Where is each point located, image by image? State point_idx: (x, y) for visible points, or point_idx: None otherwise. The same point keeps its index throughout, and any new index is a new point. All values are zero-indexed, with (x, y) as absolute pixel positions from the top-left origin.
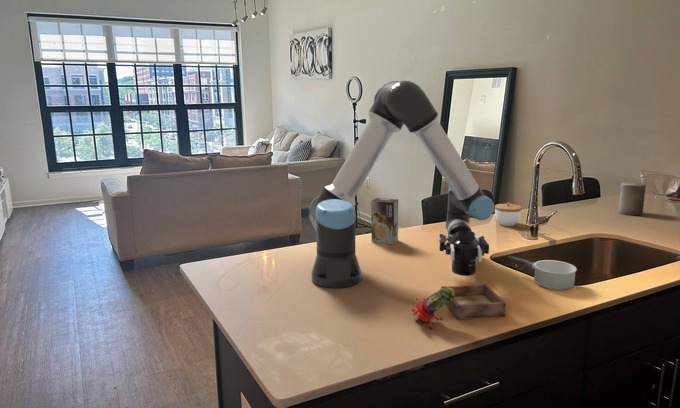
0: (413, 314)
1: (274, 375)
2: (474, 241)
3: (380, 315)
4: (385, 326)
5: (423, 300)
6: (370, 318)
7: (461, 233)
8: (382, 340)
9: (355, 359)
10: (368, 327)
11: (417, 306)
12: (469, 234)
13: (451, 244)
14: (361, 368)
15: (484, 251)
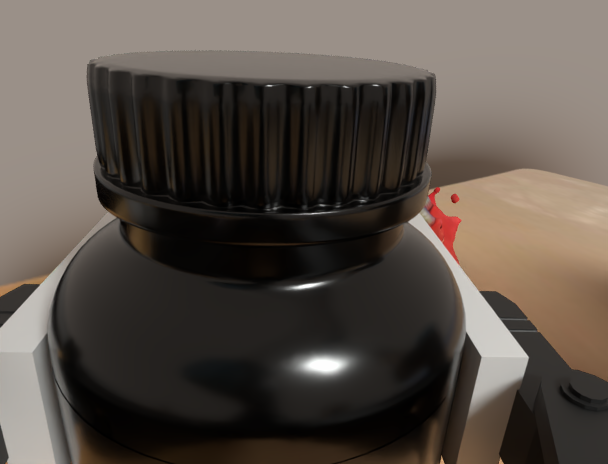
0: (456, 257)
1: (577, 182)
2: (92, 251)
3: (566, 287)
4: (510, 253)
5: (437, 218)
6: (580, 275)
7: (354, 58)
8: (481, 223)
9: (493, 196)
10: (548, 249)
11: (437, 187)
12: (231, 51)
13: (499, 341)
14: (469, 187)
15: (3, 306)
